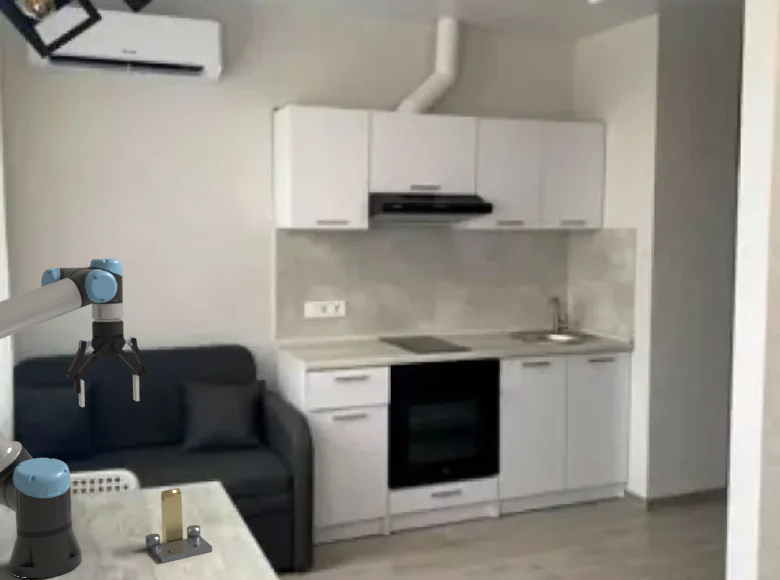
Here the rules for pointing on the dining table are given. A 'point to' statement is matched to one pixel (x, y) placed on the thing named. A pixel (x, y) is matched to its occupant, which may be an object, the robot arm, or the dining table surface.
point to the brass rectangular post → (171, 515)
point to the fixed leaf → (178, 546)
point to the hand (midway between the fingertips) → (109, 403)
